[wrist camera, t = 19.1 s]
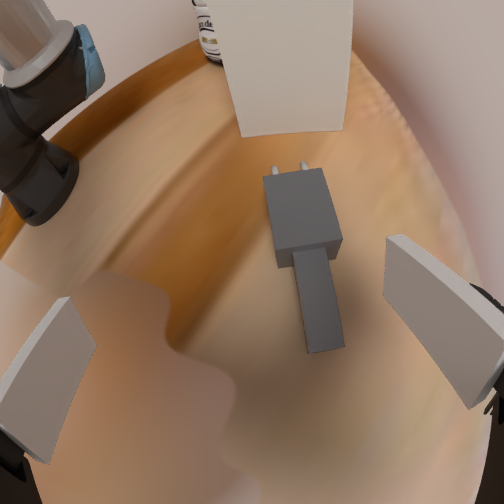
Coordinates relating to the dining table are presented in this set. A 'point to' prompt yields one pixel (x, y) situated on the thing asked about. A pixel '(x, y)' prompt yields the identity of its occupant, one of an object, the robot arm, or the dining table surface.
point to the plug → (307, 248)
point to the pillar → (285, 62)
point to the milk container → (206, 31)
